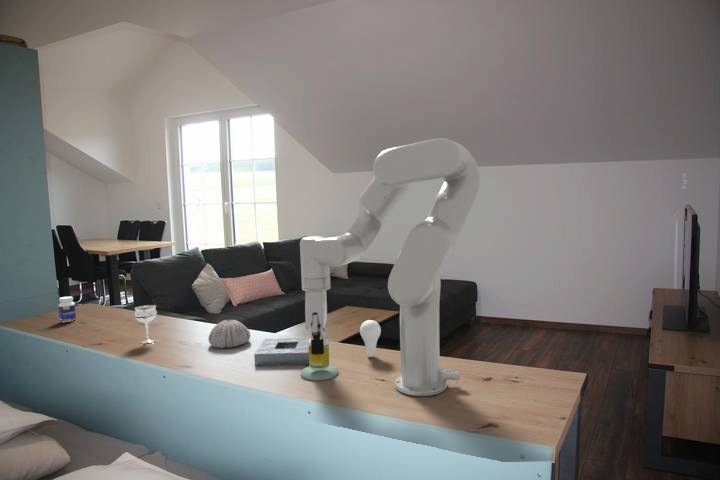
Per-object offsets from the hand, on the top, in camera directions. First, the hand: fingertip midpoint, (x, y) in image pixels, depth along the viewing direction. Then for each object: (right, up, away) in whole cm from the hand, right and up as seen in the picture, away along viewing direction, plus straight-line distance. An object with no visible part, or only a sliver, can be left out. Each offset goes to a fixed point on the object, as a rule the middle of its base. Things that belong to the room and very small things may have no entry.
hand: (318, 349), depth 128 cm
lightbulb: (+14, -5, +12) cm, 20 cm away
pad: (0, -7, +1) cm, 7 cm away
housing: (-11, -6, +15) cm, 19 cm away
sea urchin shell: (-31, -5, +29) cm, 43 cm away
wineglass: (-60, -5, +34) cm, 69 cm away
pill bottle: (-106, -4, +64) cm, 124 cm away
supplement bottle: (0, -5, 0) cm, 5 cm away
